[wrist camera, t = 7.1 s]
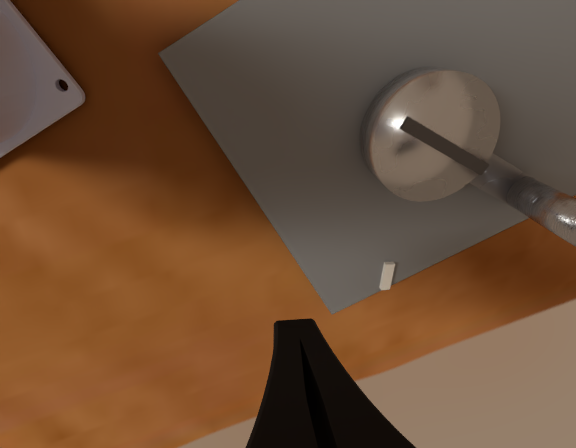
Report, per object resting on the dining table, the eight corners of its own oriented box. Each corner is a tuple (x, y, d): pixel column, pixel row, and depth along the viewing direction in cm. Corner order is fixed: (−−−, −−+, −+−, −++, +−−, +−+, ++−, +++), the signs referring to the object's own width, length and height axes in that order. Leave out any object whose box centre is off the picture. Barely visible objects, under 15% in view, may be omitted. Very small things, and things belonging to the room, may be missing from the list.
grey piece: (337, 158, 18) (371, 200, 13) (406, 41, 16) (475, 43, 11) (486, 233, 21) (553, 286, 17) (560, 146, 19) (660, 181, 14)
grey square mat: (162, 52, 16) (156, 54, 15) (548, -199, 13) (576, -221, 12) (328, 304, 24) (332, 317, 23) (582, 178, 22) (601, 186, 21)
